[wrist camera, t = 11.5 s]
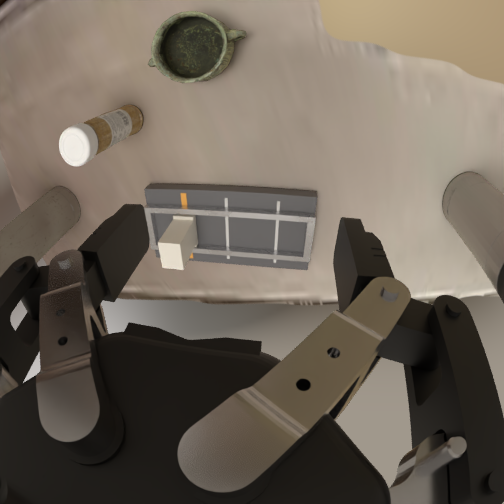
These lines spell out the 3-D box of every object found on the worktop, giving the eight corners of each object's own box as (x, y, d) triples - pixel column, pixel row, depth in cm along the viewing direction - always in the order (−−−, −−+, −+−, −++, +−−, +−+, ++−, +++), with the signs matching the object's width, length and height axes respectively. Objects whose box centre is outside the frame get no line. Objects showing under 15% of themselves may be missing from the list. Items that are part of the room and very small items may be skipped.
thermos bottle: (58, 226, 49) (-33, 328, 26) (43, 189, 45) (-62, 285, 22) (86, 222, 48) (-12, 337, 25) (71, 182, 43) (-45, 288, 21)
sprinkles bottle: (113, 111, 36) (52, 136, 25) (138, 99, 35) (79, 120, 24) (123, 139, 38) (66, 173, 27) (148, 128, 37) (94, 159, 26)
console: (316, 191, 40) (317, 201, 37) (307, 262, 47) (307, 275, 44) (150, 183, 42) (140, 192, 40) (160, 250, 49) (153, 261, 46)
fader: (195, 213, 42) (179, 240, 36) (198, 243, 44) (184, 272, 39) (175, 212, 42) (157, 239, 36) (179, 242, 45) (163, 270, 39)
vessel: (240, 5, 27) (231, -6, 22) (259, 67, 31) (253, 66, 26) (152, 36, 30) (129, 34, 25) (170, 93, 34) (150, 99, 29)
